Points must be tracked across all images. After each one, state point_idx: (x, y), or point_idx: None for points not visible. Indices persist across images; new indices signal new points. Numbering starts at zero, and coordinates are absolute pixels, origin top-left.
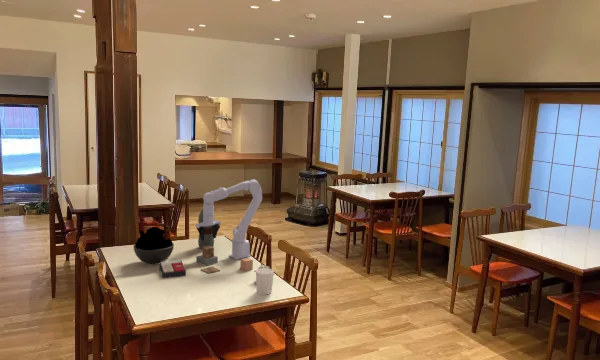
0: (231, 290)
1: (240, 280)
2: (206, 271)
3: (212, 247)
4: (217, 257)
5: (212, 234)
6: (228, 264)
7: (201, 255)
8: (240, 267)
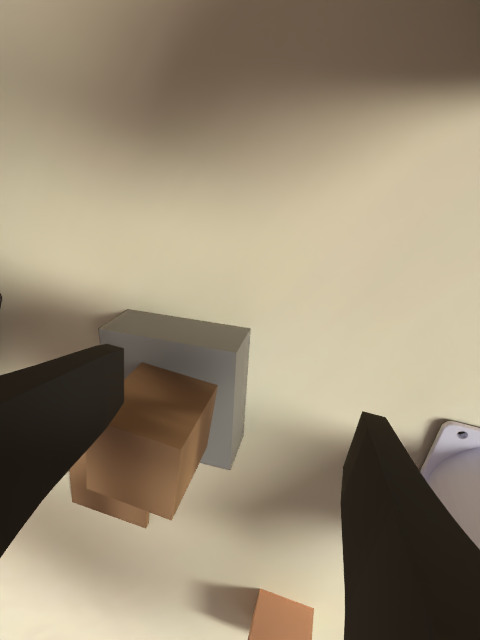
0: (59, 632)
1: (144, 631)
2: (74, 484)
3: (163, 506)
4: (229, 465)
5: (371, 444)
6: (265, 511)
7: (147, 346)
8: (258, 596)
